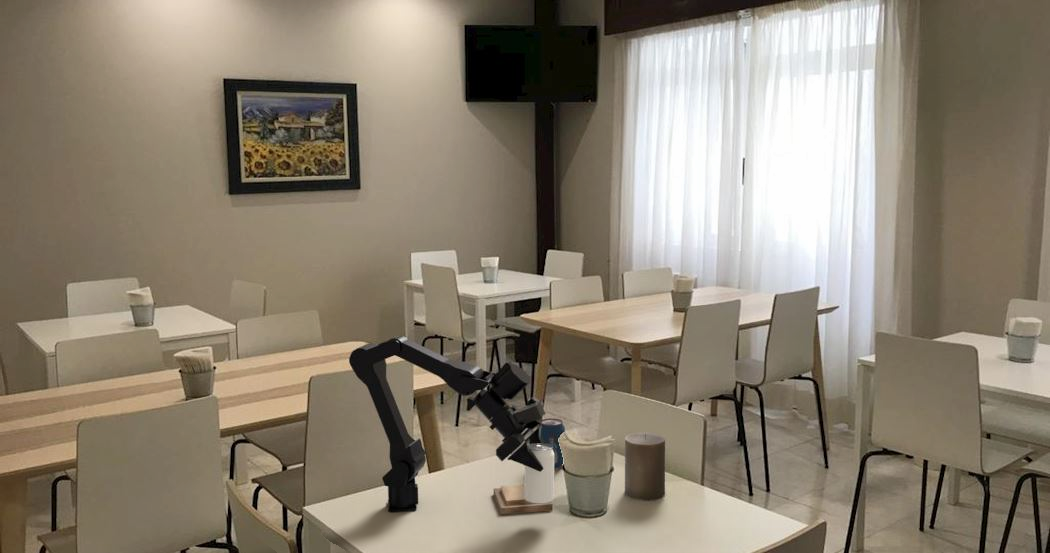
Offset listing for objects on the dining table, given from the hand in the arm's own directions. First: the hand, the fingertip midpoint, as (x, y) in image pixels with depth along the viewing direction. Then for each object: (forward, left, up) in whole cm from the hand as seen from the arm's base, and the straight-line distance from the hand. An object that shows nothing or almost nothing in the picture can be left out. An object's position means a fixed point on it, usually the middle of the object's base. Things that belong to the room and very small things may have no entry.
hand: (545, 465), depth 189 cm
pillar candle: (+27, +12, -13) cm, 32 cm away
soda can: (+9, +35, -13) cm, 39 cm away
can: (-2, 0, -8) cm, 8 cm away
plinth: (-3, +12, -13) cm, 18 cm away
